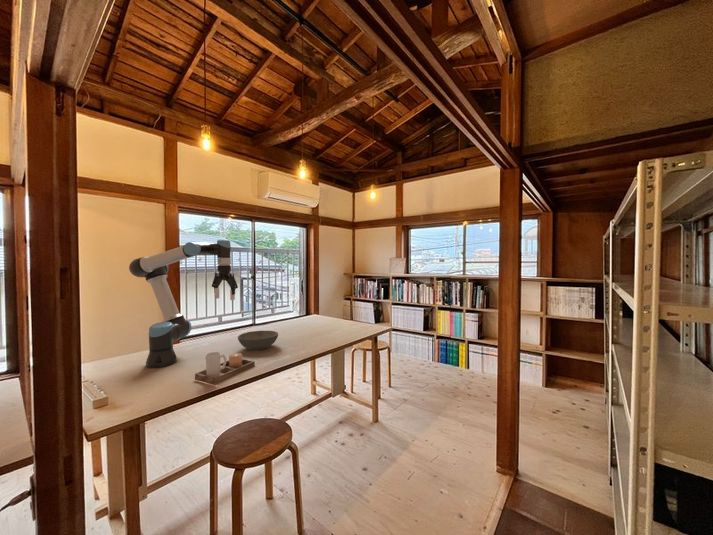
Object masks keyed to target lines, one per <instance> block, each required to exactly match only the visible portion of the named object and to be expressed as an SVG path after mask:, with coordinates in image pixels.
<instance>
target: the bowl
mask: <svg viewBox="0 0 713 535" xmlns="http://www.w3.org/2000/svg"><path fill="white" fill-rule="evenodd" d="M278 337H279V332H277V331H274V330H254V331H247V332H244V333H241V334H239V335H238V336H237V339H238V342H239V344H240V345H241V346H242V347H244V348H246V349H247V350H253V351H257V350H258V351H261V350H264V349H267V348H269V347H271V346H272V345H273V344H274V343H275V342H276V341H277V339H278Z"/></svg>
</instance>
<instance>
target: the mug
mask: <svg viewBox="0 0 713 535" xmlns="http://www.w3.org/2000/svg"><path fill="white" fill-rule="evenodd" d="M222 358H223V362H224V364H223V366H222V367H220V363H221V359H222ZM226 361H227V357H226V355H225V353H221V352H219V351H212V352H209V353H206V354H205V367H206V368H205V369H206V374H207V376H210V377H214V378H216V377H218V376H220V370H222V369H224V368H225V365H226Z"/></svg>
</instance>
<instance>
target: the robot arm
mask: <svg viewBox="0 0 713 535" xmlns="http://www.w3.org/2000/svg"><path fill="white" fill-rule="evenodd" d="M231 248H232V246H231V241H230V240H228V239H217V241H216V242H200V241H199V242H196V241H188V242H186V243H185V244H184V245H181V246H178V247H175V248H172V249H169V250H166V251H163V252H160V253H156V254H154V255H151V256H142V257H138V258H135V259H132V261H131V262H130V263H129V266H128V269H129V272H130V273H131V275H132V276H134V277H136V278H144V279H145V281H146V282H147V283H148V284H150V286H151V289H152V291H153V293H154V296H155V298H156V301H157V304H158V306H159V308H160V312H161V314H162V316H163V321H161V322H157V323H153V324H152V325H150V327H149V328H148V346H149V348H148V349H149V350H148V351H149V352H148V355H147V358H146V361H145V367H146V368H149V369H156V368H157V369H158V368H164V367H167V366H172V365H173V364H176V363H177V361H178V360H177V358H178V357H177V355H176V352H175V349H174V342H175V341H178V340H181V339H183V338H185V337H187V336H189V334H190V333H191V331H192V323H191V321H190V320H188V319H187V318H185V317H184V314H182V313H180V311H179V309H178V306H177V302H176V301H175V298H174V295H173V294H172V291H171V288H170V286H169V282H168V281H167V278H168V272H169V265H171V264H174V263H177V262H180V261H183V260H184V261H185V260H186V259H190V258H193V257H196V256H217V272H214V277H213V280H212V284H211V288H213V289H214V292H213V293H214V299H216V300H217V299H220V286H221V283H222V281H226V283H227V284H228V286H229V288H230V289H229V300H230V301H235V300H236V298H235V296H236V289H238V288H239V286H238V282H237V281H236V278H235V273H234V272H231V271H232V266H231V264H232V262H231V261H232V260H231V258H232V257H231V252H232V250H231Z"/></svg>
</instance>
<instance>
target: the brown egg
mask: <svg viewBox="0 0 713 535" xmlns="http://www.w3.org/2000/svg"><path fill="white" fill-rule="evenodd" d="M242 359H243V353H240V352H236V353H231V354H229V355H228V360H229V367H230V368H235V369H236V368H239V367H241V366H242Z"/></svg>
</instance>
